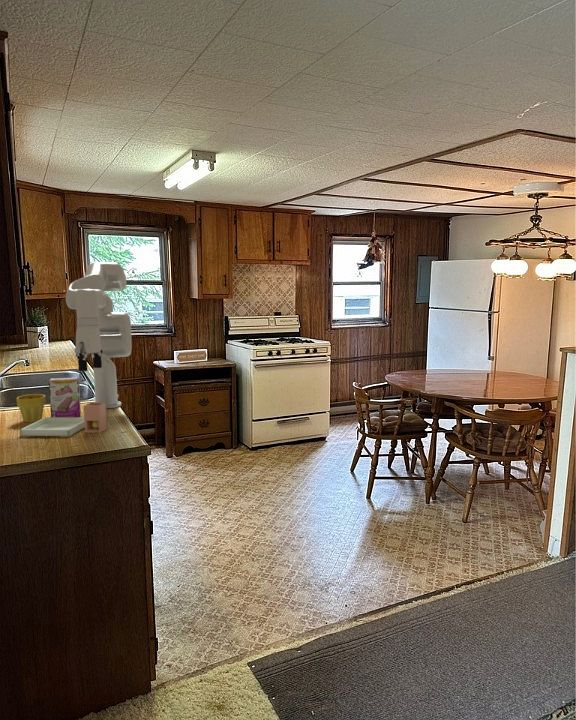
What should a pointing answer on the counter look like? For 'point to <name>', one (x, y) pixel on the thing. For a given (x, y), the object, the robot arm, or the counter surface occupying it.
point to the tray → (54, 427)
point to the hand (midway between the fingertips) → (90, 369)
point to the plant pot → (31, 407)
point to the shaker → (95, 416)
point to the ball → (95, 424)
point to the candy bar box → (65, 397)
